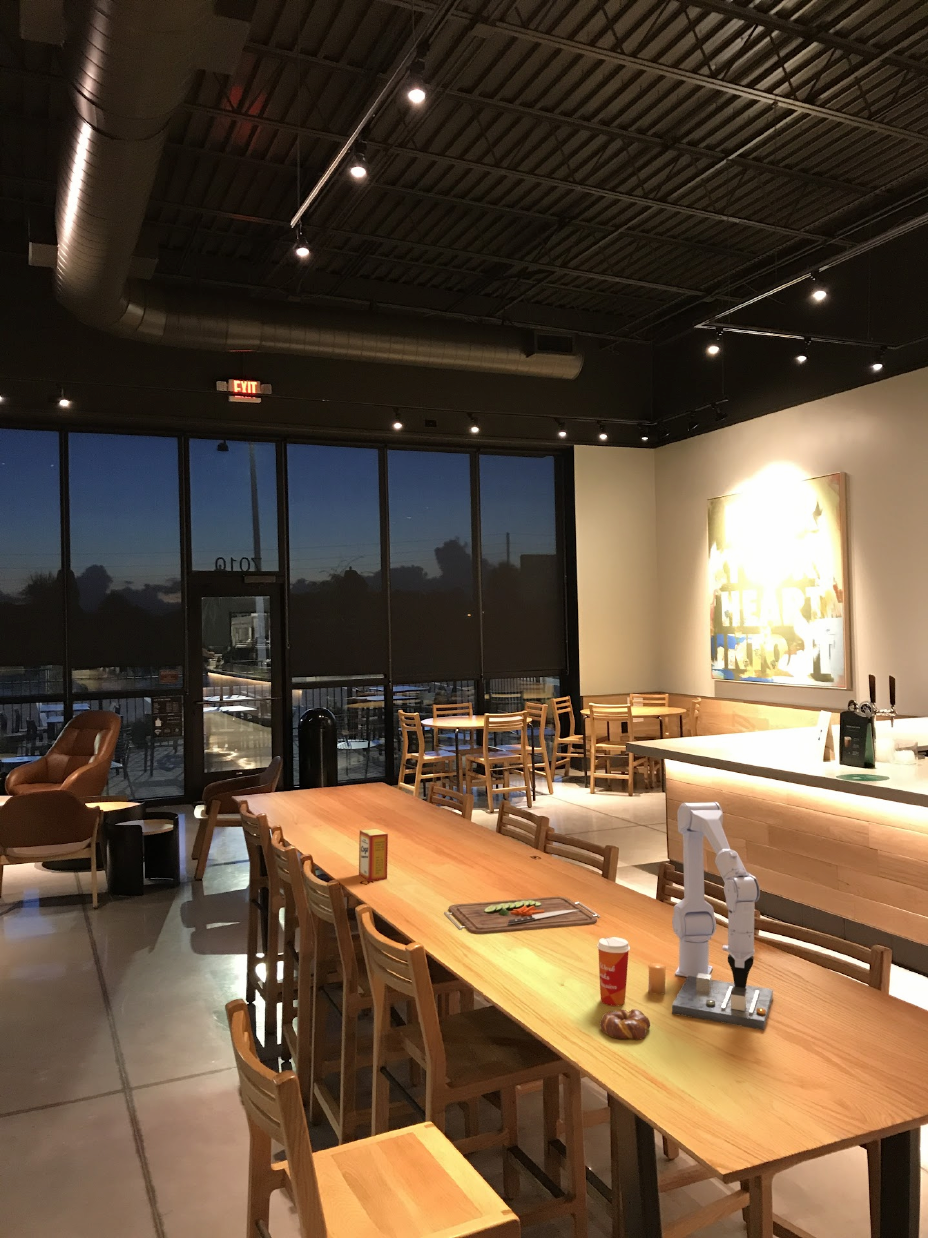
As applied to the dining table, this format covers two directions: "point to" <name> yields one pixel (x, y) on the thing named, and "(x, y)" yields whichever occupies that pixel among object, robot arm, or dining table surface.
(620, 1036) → the pretzel
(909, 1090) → the dining table surface
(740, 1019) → the panel
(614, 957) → the paper cup
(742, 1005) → the lever
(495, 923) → the chopping board
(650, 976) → the cap
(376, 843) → the baking soda box
